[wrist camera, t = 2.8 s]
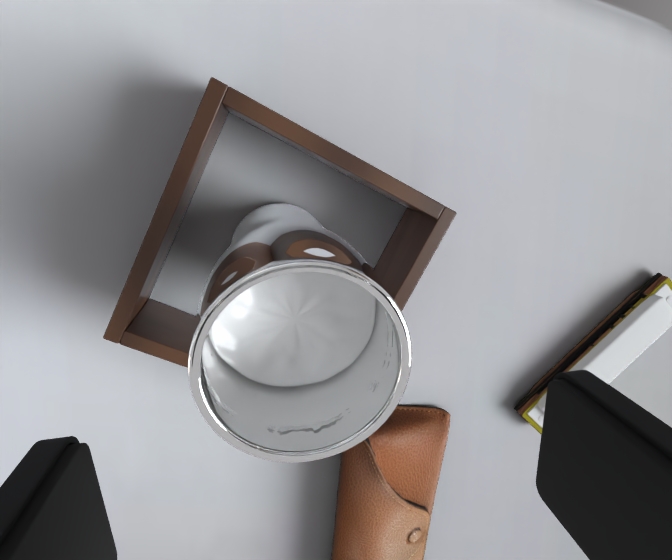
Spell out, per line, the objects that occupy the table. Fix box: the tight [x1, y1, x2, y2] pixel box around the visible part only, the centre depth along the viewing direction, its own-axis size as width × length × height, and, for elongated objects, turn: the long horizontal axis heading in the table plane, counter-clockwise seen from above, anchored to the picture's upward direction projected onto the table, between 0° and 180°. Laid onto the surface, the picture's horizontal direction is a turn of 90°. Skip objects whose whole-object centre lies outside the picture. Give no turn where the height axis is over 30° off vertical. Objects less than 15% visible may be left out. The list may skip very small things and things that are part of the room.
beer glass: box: [188, 203, 412, 463], centre depth 19 cm, size 7×7×15 cm
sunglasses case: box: [331, 405, 450, 560], centre depth 32 cm, size 18×7×7 cm
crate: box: [103, 77, 456, 368], centre depth 24 cm, size 14×14×5 cm
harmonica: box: [514, 273, 672, 434], centre depth 32 cm, size 15×3×2 cm, turn 136°
